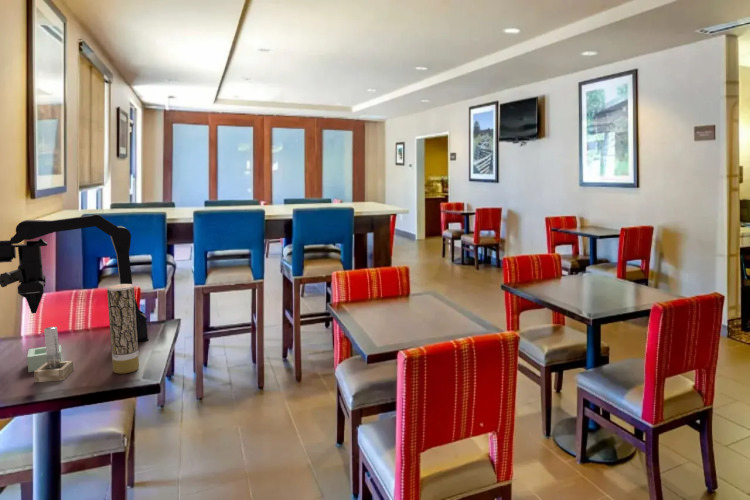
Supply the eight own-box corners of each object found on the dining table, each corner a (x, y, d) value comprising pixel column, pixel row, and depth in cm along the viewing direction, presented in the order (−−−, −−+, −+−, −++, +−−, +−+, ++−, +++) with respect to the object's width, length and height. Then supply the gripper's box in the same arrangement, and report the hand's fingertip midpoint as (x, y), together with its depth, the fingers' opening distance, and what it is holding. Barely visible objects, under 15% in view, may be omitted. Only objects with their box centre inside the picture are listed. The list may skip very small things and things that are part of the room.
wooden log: (121, 376, 134) (115, 289, 131) (108, 371, 138) (102, 287, 134) (144, 368, 140) (138, 285, 136) (130, 364, 143) (125, 283, 140)
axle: (61, 373, 136) (57, 326, 134) (61, 377, 134) (56, 328, 132) (48, 375, 134) (44, 327, 133) (48, 379, 132) (43, 330, 130)
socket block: (62, 358, 148) (60, 344, 147) (61, 366, 141) (60, 352, 140) (30, 363, 144) (29, 349, 143) (28, 372, 137) (27, 357, 136)
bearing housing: (73, 370, 138) (72, 360, 138) (63, 380, 131) (62, 369, 131) (46, 372, 137) (45, 362, 136) (34, 382, 130) (33, 371, 129)
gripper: (1, 258, 150) (5, 306, 152) (-7, 267, 135) (-2, 320, 137) (43, 256, 156) (47, 302, 158) (41, 264, 141) (45, 315, 143)
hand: (34, 309), depth 149 cm, fingers open, 9 cm apart
